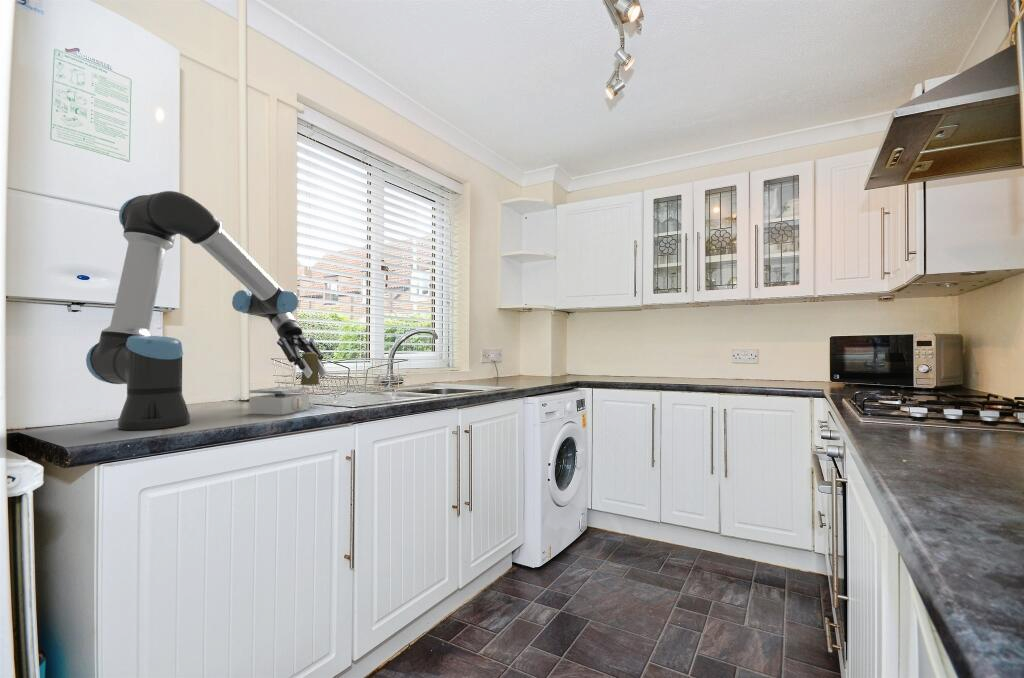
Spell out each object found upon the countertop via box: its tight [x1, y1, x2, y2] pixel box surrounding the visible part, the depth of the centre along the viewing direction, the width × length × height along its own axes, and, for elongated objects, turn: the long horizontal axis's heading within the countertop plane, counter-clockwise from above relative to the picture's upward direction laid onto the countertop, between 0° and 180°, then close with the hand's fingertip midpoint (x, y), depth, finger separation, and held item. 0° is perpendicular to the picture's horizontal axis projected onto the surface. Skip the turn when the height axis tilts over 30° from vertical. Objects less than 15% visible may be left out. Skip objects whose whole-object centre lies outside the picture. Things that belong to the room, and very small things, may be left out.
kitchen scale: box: [248, 392, 310, 416], centre depth 152 cm, size 12×13×6 cm
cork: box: [300, 352, 320, 386], centre depth 168 cm, size 6×6×11 cm
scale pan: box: [248, 386, 310, 395], centre depth 153 cm, size 12×12×1 cm
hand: (317, 374), depth 166 cm, fingers closed on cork, 5 cm apart
